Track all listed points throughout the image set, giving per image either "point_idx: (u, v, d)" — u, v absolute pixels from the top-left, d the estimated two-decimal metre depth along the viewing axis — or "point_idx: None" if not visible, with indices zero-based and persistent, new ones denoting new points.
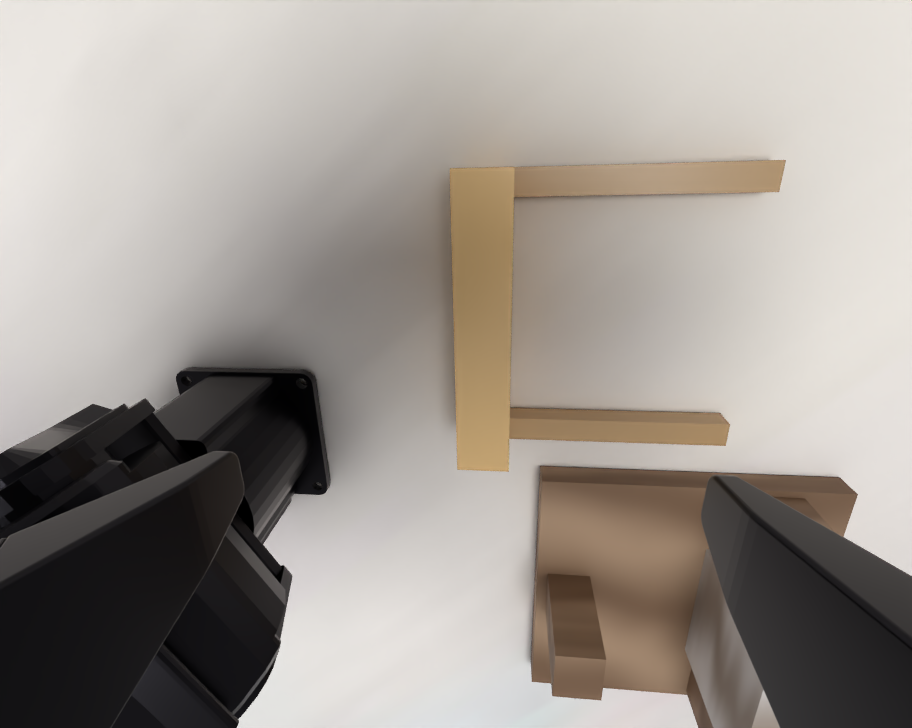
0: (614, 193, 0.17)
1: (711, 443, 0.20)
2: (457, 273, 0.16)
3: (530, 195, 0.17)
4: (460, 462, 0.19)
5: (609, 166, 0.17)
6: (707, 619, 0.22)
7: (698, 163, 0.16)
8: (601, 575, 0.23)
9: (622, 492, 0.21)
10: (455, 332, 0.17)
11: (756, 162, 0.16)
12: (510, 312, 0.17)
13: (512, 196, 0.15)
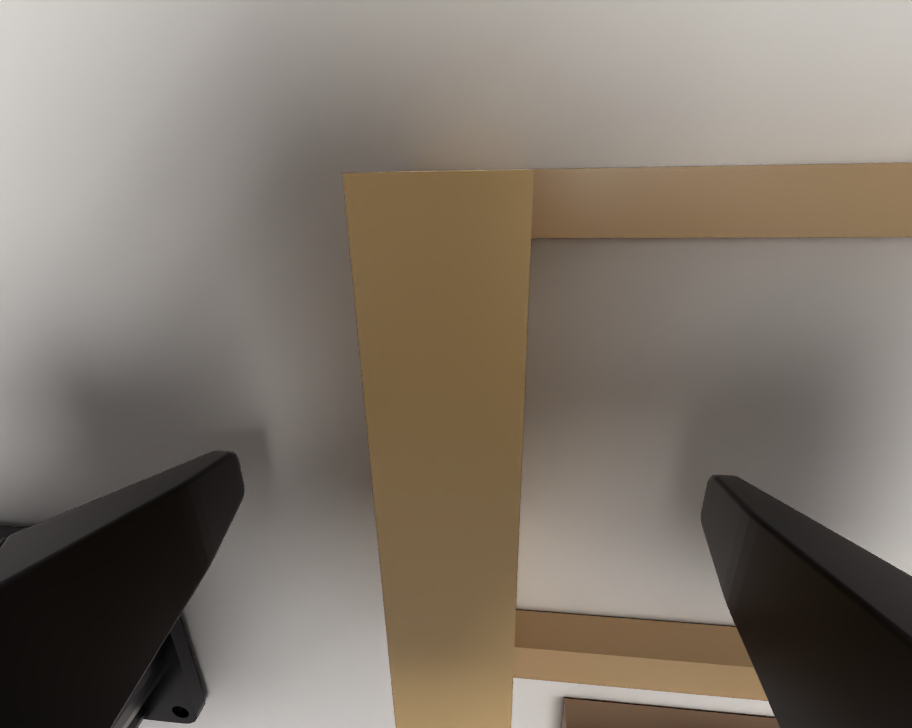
0: (764, 233, 0.07)
1: None
2: (380, 440, 0.06)
3: (564, 235, 0.08)
4: None
5: (759, 169, 0.07)
6: None
7: None
8: None
9: None
10: (384, 563, 0.07)
11: None
12: (516, 532, 0.07)
13: (526, 255, 0.05)
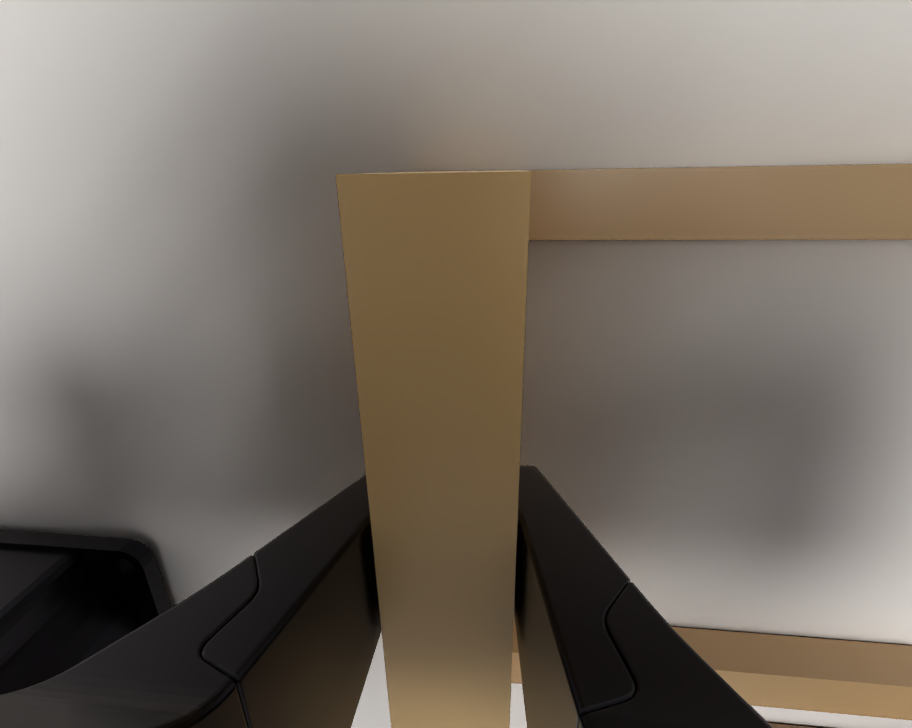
0: (766, 236, 0.07)
1: (905, 716, 0.10)
2: (376, 446, 0.06)
3: (562, 237, 0.07)
4: None
5: (761, 171, 0.07)
6: None
7: None
8: None
9: None
10: (379, 570, 0.07)
11: None
12: (513, 539, 0.07)
13: (523, 259, 0.05)
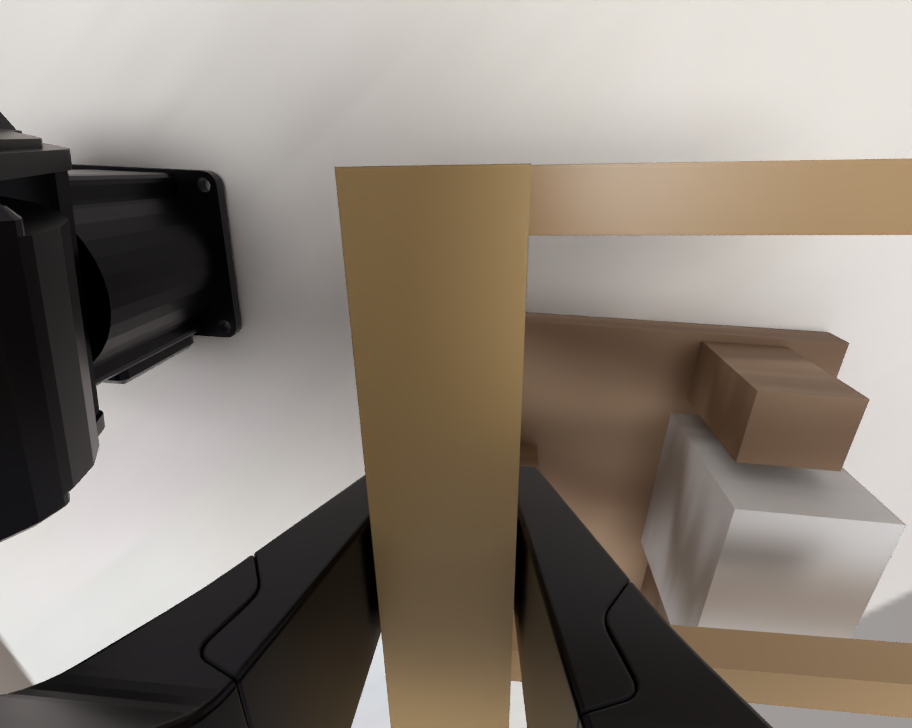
0: (767, 231, 0.07)
1: (906, 714, 0.10)
2: (375, 441, 0.06)
3: (562, 232, 0.07)
4: None
5: (762, 165, 0.07)
6: (667, 491, 0.19)
7: None
8: (550, 444, 0.20)
9: (577, 335, 0.18)
10: (379, 566, 0.07)
11: None
12: (513, 535, 0.06)
13: (523, 252, 0.05)
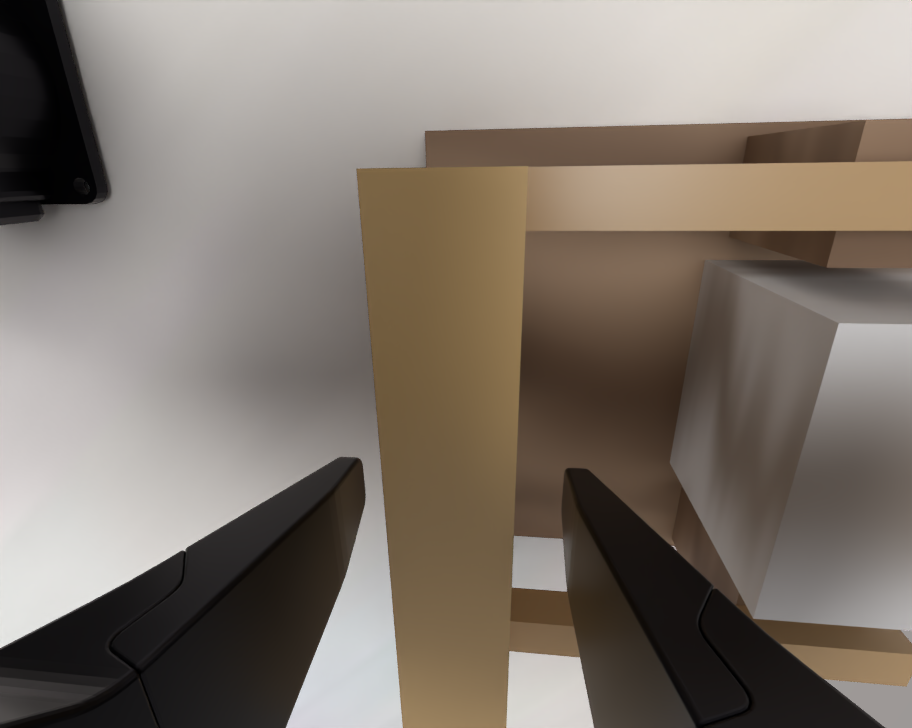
0: (743, 227, 0.08)
1: (880, 681, 0.11)
2: (389, 414, 0.07)
3: (557, 228, 0.08)
4: None
5: (737, 168, 0.07)
6: (706, 373, 0.13)
7: None
8: (534, 325, 0.14)
9: (561, 145, 0.12)
10: (390, 530, 0.08)
11: None
12: (512, 500, 0.07)
13: (521, 243, 0.06)
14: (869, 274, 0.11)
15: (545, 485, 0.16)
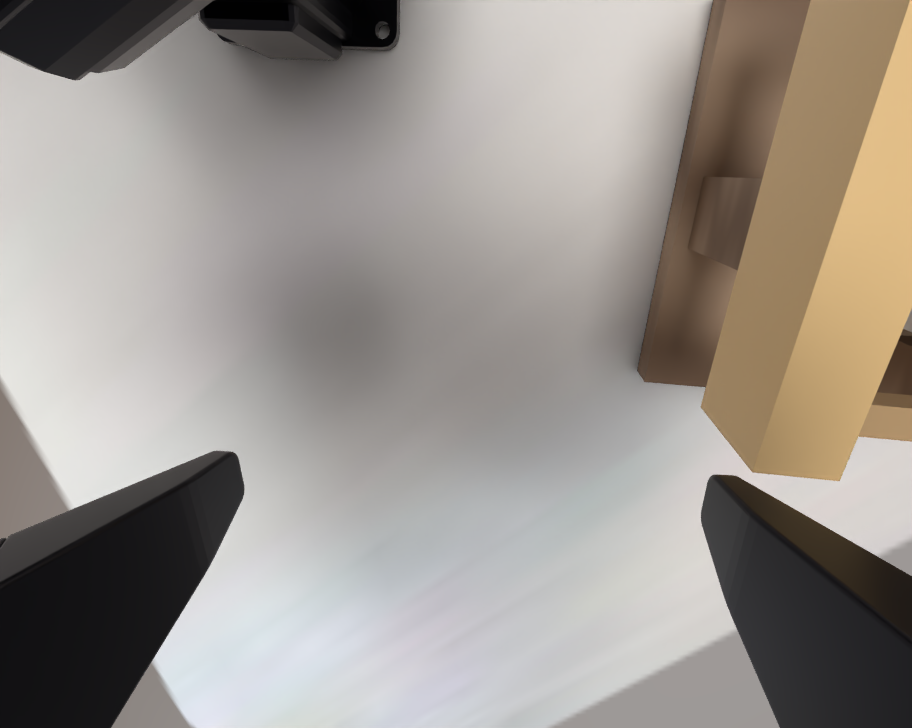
0: None
1: None
2: (882, 115, 0.09)
3: None
4: (760, 461, 0.12)
5: None
6: None
7: None
8: None
9: None
10: (834, 232, 0.10)
11: None
12: None
13: None
14: None
15: None
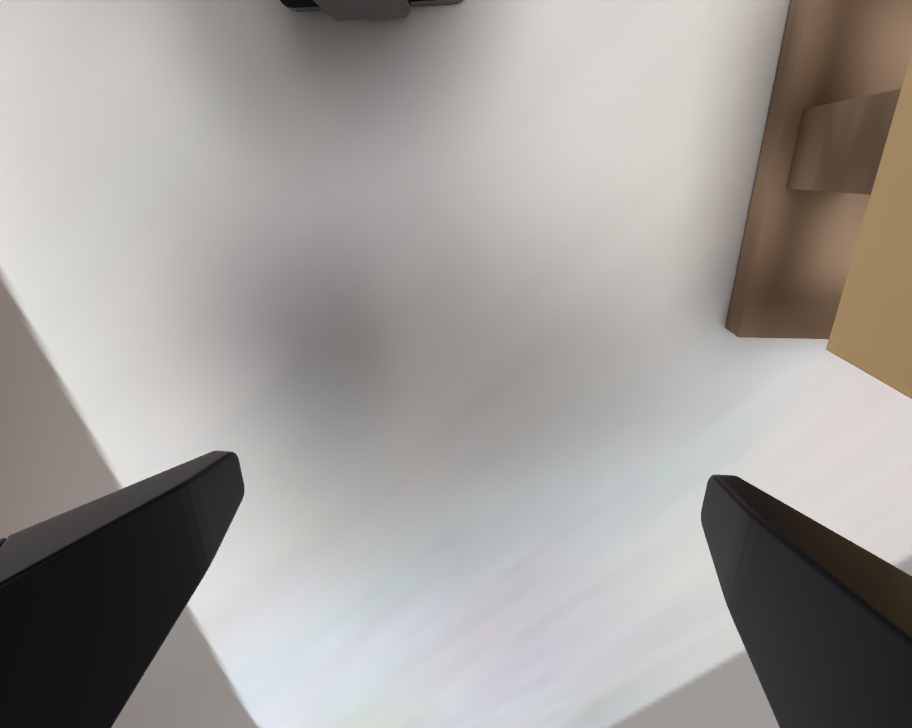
0: None
1: None
2: None
3: None
4: None
5: None
6: None
7: None
8: None
9: None
10: None
11: None
12: None
13: None
14: None
15: None
